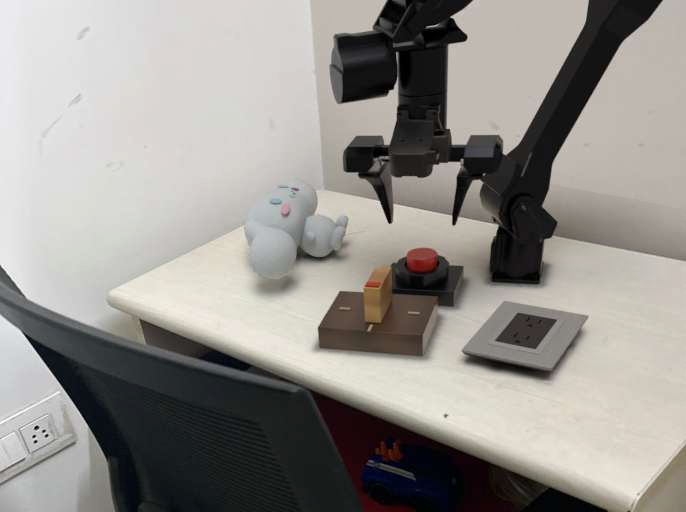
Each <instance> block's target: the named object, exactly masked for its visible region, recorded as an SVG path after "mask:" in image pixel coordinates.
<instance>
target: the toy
mask: <svg viewBox="0 0 686 512" xmlns="http://www.w3.org/2000/svg"><path fill="white" fill-rule="evenodd" d="M318 204H319V197H318V193H317V191H316V189H315V188H314V187H313V185H311V183H309V182H308V181H306V180H302V179H292V180H291V179H290V180H289V181H287V182H286V183H284V184H278V185H277V186H276V188H273V189H270V190H268V191H265V192H263V193H261V194H260V195H258V196H257V197H255V198H254V199H253V200H251V202H250V203H249V205H248V206H247V207H246V209H245V212H244V215H243V231H244V236H245V239H246V242H247V245H248V247H249V251H248V252H249V253H248V256H249V263H250V266H251V268H252V270H253V271H254V272H255V274H257V275H258V276H261V277H262V278H265V279H267V280H279V279H282V278H285V277H286V276H287V275H289V273H290V272H291V271H292V270H293V268H294V267H295V263H296V260H297V252H298V251H297V250H298V248H299V247H300V249H302V250H303V252H305V253H306V254H307V255H310V256H311V257H315V258H323V257H327V256H329V254H331V253H332V252H333V251H339V250H341V248H342V246H343V243H344V238H345V236H346V233H347V232H346V231H347V228H348V223H349V217H348V216H347V215H345V214H344V215H343V214H342V215H340V216H339V217H338V218H337V219H336V221H334V220H333V219H332V218H331V217H329V216H326V215H323V214H316V211H317V209H318Z"/></svg>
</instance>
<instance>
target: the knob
mask: <svg viewBox="0 0 686 512" xmlns="http://www.w3.org/2000/svg"><path fill="white" fill-rule="evenodd" d="M363 292H364V310H365V322H373V323H381V322H382V320H383V318H384V316H385V314H386V312H387V310H388V308H389V306H390V304H391V302H392V267H390V266H380V265H376V266H375V267H374V268H373V270H372V273H371V274H370V276H369V278H368V279H367V281H366V282H365V284H364V285H363Z"/></svg>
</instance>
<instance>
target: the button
mask: <svg viewBox="0 0 686 512" xmlns="http://www.w3.org/2000/svg"><path fill="white" fill-rule="evenodd" d="M437 255H438V252H437V250H436V249H433V248H430V247H417V248H413V249H410V250H409V251H408V252H406V256H407V268H408V269H409V270H412V271H420V272H424V271H429V270H433V269H435V268H436V267H437Z"/></svg>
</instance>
